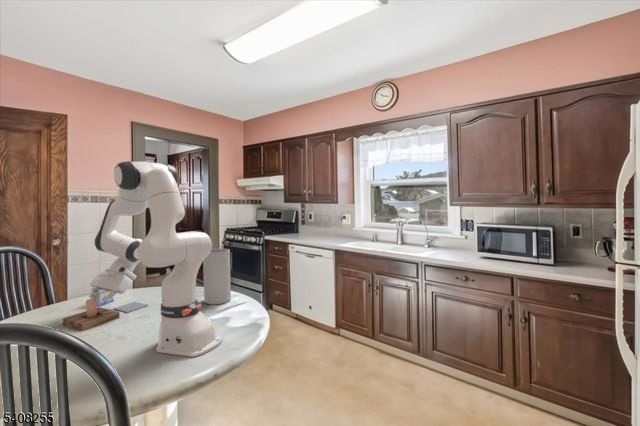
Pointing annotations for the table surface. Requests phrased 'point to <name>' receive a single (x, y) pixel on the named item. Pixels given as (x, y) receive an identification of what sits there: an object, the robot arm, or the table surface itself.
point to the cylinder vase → (217, 277)
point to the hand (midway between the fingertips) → (97, 299)
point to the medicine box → (100, 296)
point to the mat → (130, 307)
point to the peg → (91, 308)
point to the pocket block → (83, 323)
